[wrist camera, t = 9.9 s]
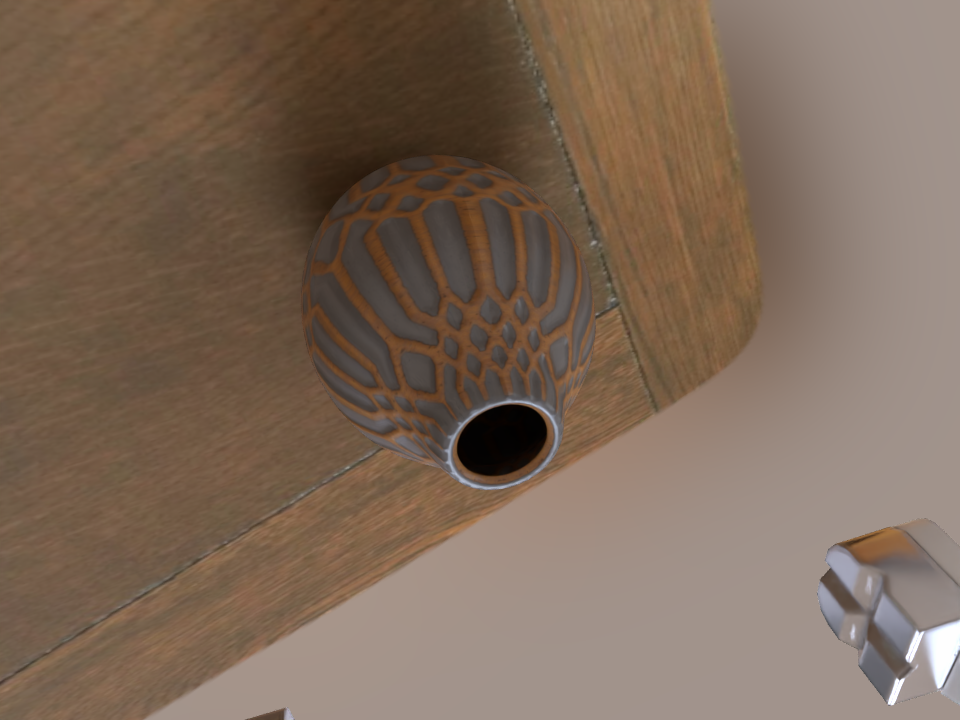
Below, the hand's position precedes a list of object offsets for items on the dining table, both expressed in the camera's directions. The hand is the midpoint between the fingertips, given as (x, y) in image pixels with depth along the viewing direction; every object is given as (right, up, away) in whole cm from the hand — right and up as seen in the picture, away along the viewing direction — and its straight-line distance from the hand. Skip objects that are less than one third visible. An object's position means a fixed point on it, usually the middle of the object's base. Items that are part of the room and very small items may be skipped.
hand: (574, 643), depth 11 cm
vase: (-3, +8, +10) cm, 13 cm away
